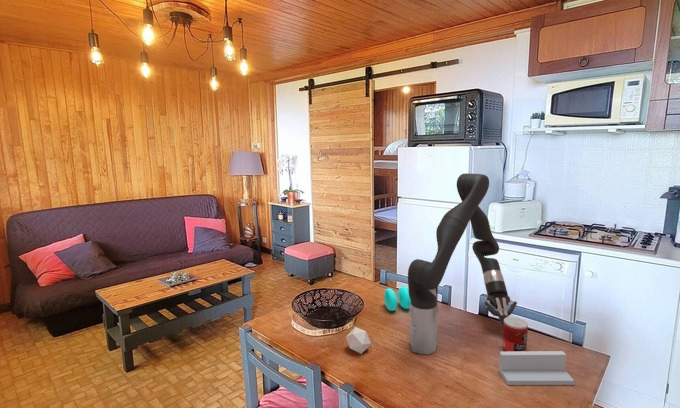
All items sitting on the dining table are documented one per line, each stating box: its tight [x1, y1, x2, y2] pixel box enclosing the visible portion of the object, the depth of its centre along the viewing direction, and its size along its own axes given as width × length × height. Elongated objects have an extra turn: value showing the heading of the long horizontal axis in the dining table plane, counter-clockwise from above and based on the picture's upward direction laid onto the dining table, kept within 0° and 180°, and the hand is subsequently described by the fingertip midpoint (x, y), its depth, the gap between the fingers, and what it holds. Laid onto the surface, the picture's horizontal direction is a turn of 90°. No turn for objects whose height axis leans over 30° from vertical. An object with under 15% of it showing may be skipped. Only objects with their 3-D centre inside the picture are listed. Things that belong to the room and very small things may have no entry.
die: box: [345, 326, 372, 355], centre depth 133 cm, size 8×9×10 cm
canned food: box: [502, 316, 529, 352], centre depth 129 cm, size 8×8×11 cm
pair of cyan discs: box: [383, 286, 411, 312], centre depth 165 cm, size 10×10×10 cm
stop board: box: [498, 350, 575, 386], centre depth 114 cm, size 20×7×7 cm, turn 87°
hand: (505, 326), depth 137 cm, fingers closed
